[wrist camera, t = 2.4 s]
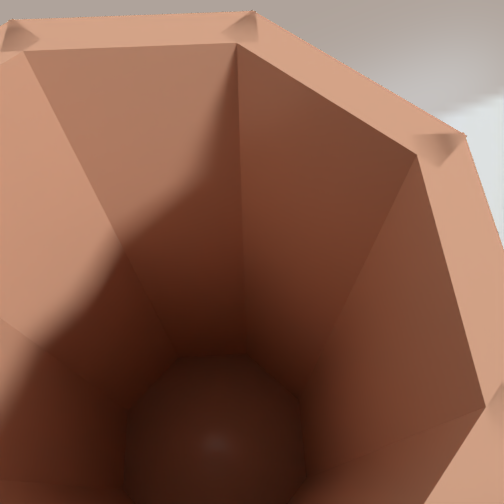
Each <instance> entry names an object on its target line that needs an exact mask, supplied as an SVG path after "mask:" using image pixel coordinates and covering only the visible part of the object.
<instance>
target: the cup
mask: <svg viewBox="0 0 504 504" xmlns="http://www.w3.org/2000/svg"><path fill="white" fill-rule="evenodd" d="M466 137H467V136H466V135H465V134H464V133H461V132H459V131H458V130H456V129H454V128H453V127H451V126H449V125H447V124H446V123H444V122H442V121H441V120H439V119H437V118H435V117H434V116H432V115H430V114H428V113H427V112H425V111H423V110H422V109H420V108H418V107H417V106H415V105H413V104H411V103H410V102H408V101H406V100H405V99H403V98H401V97H400V96H398V95H396V94H394V93H393V92H391V91H389V90H388V89H386V88H384V87H382V86H381V85H379V84H377V83H376V82H374V81H372V80H370V79H369V78H367V77H365V76H364V75H362V74H360V73H358V72H357V71H355V70H353V69H352V68H350V67H348V66H347V65H345V64H343V63H341V62H340V61H338V60H336V59H335V58H333V57H331V56H329V55H328V54H326V53H324V52H322V51H321V50H319V49H317V48H316V47H314V46H312V45H311V44H309V43H307V42H305V41H304V40H302V39H300V38H298V37H297V36H295V35H294V34H292V33H290V32H288V31H287V30H285V29H283V28H282V27H280V26H278V25H276V24H275V23H273V22H271V21H270V20H268V19H266V18H265V17H263V16H261V15H259V14H258V13H256V11H252V10H251V11H242V12H215V13H189V14H188V13H187V14H161V15H133V16H104V17H80V18H79V17H78V18H51V19H50V18H49V19H23V20H14V19H12V20H9V21H8V22H7V23H5V24H3V25H2V26H0V504H504V249H503V246H502V243H501V240H500V237H499V234H498V231H497V229H496V226H495V223H494V220H493V217H492V214H491V211H490V208H489V205H488V202H487V199H486V196H485V193H484V190H483V187H482V184H481V181H480V178H479V175H478V173H477V170H476V167H475V164H474V161H473V158H472V155H471V152H470V149H469V146H468V143H467V140H466Z"/></svg>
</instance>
